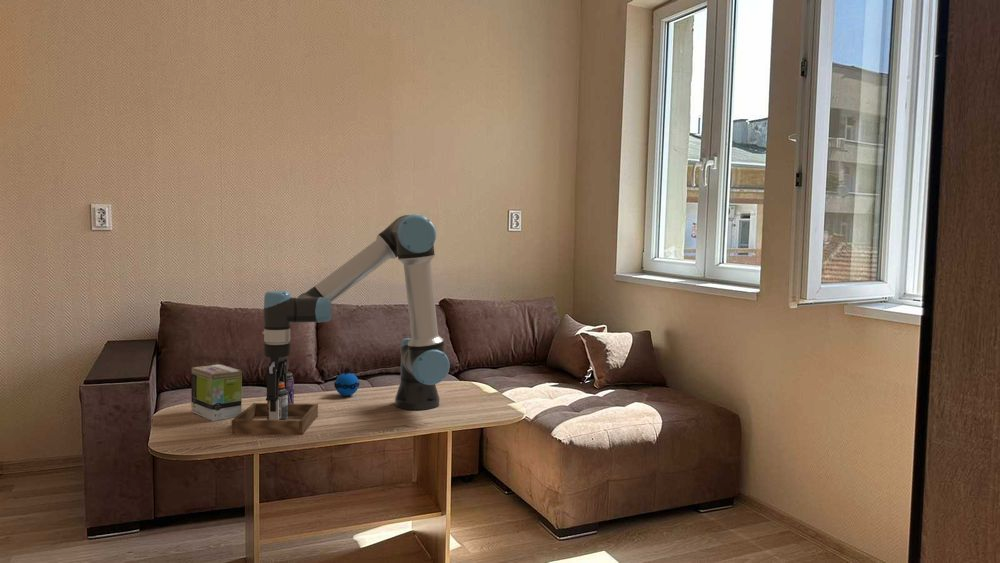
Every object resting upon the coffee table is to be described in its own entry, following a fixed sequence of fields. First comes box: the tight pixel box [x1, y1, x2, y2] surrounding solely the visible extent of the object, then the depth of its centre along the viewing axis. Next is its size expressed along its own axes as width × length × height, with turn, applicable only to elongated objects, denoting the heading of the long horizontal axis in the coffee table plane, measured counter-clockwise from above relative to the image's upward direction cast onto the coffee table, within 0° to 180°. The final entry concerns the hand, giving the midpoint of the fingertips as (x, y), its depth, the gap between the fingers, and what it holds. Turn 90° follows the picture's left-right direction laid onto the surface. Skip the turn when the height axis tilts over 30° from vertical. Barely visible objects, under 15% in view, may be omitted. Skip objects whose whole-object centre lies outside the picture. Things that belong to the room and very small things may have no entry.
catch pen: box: [231, 402, 319, 436], centre depth 210 cm, size 20×20×4 cm
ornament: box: [333, 367, 360, 397], centre depth 248 cm, size 9×9×10 cm
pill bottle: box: [266, 382, 289, 420], centre depth 209 cm, size 6×6×11 cm
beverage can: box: [287, 371, 295, 404], centre depth 226 cm, size 7×7×12 cm
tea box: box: [190, 363, 243, 422], centre depth 219 cm, size 15×10×15 cm, turn 47°
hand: (277, 418), depth 210 cm, fingers closed on pill bottle, 6 cm apart
